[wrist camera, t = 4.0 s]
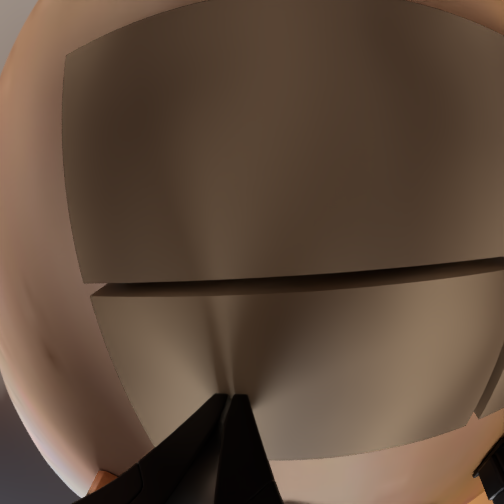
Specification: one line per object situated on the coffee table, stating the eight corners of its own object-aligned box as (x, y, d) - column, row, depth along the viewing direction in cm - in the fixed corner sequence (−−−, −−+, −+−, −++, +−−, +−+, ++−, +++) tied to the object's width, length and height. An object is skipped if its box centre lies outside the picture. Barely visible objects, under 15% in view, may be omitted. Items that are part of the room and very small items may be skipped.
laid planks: (550, 87, 4) (576, 83, 3) (528, 364, 8) (545, 383, 6) (100, 70, 7) (65, 55, 5) (166, 415, 11) (152, 446, 9)
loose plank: (488, 249, 7) (522, 266, 5) (450, 397, 9) (465, 425, 7) (122, 273, 9) (89, 296, 7) (169, 415, 11) (154, 447, 9)
